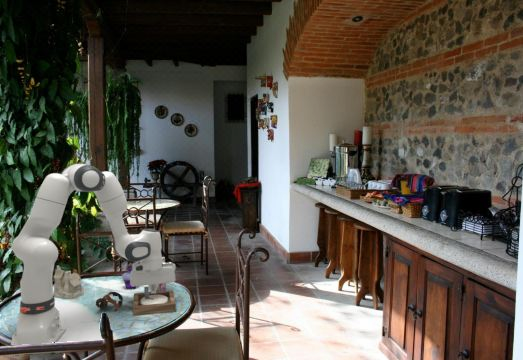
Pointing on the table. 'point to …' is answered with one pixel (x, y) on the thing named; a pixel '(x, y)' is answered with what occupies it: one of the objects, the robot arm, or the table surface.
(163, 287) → the candy bar box
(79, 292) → the ceramic cottage
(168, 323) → the table surface
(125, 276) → the potion bottle
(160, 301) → the dial
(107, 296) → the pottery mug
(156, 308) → the square wooden tray
